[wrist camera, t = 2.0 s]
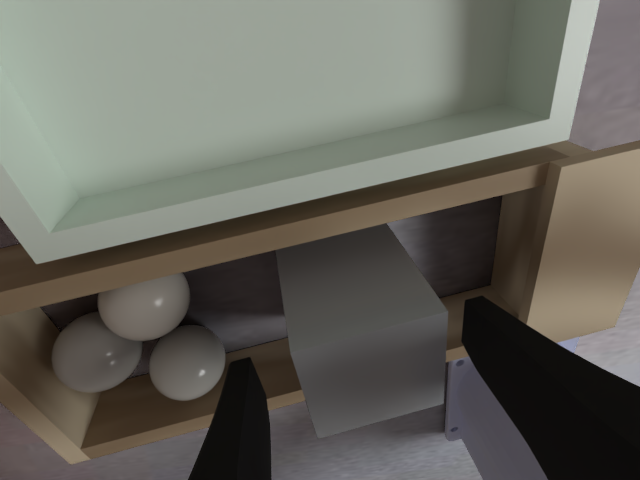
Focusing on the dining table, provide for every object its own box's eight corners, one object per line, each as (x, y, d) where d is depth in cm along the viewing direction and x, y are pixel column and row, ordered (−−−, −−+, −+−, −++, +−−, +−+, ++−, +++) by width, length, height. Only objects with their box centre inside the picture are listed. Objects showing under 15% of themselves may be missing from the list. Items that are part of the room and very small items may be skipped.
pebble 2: (204, 292, 15) (197, 346, 13) (133, 309, 15) (111, 368, 13) (177, 232, 14) (163, 282, 11) (97, 251, 13) (64, 306, 11)
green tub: (508, 116, 14) (568, 139, 11) (77, 214, 12) (36, 264, 10) (553, -242, 9) (677, -344, 6) (-139, -135, 8) (-320, -206, 5)
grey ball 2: (234, 348, 17) (233, 404, 15) (172, 364, 17) (160, 424, 15) (214, 302, 16) (209, 357, 13) (145, 320, 15) (127, 379, 13)
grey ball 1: (161, 337, 16) (146, 397, 14) (93, 355, 16) (65, 418, 13) (131, 287, 14) (108, 344, 12) (54, 306, 14) (15, 368, 12)
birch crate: (557, 278, 19) (614, 326, 16) (95, 399, 17) (65, 477, 14) (601, 110, 14) (694, 135, 11) (-31, 255, 13) (-112, 328, 10)
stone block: (384, 290, 17) (443, 404, 12) (294, 313, 17) (317, 439, 12) (377, 211, 15) (448, 311, 10) (273, 236, 15) (290, 352, 10)
